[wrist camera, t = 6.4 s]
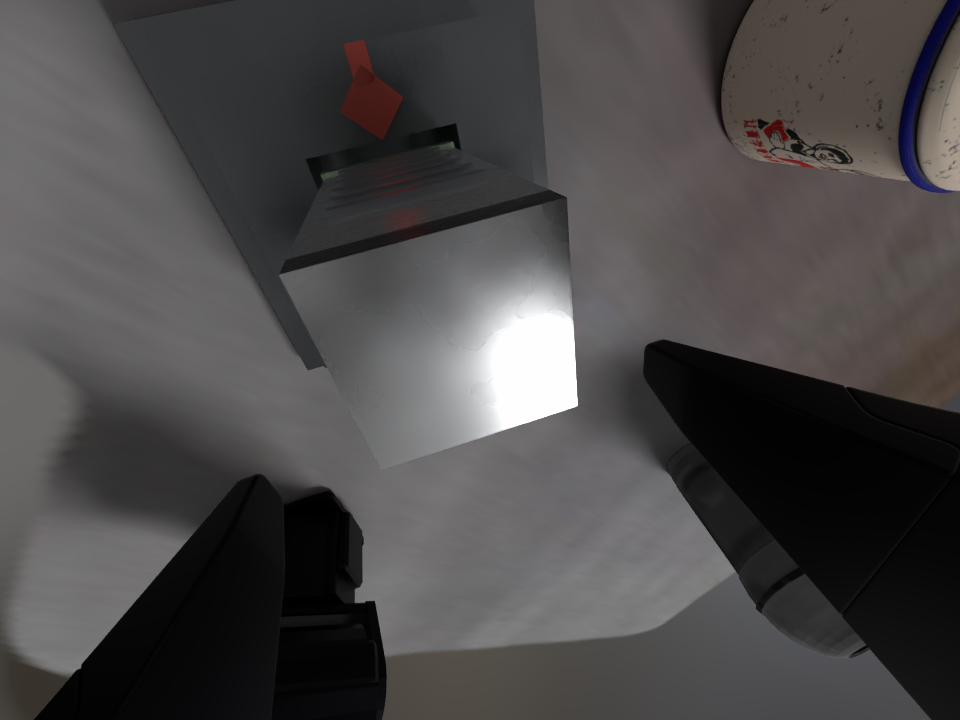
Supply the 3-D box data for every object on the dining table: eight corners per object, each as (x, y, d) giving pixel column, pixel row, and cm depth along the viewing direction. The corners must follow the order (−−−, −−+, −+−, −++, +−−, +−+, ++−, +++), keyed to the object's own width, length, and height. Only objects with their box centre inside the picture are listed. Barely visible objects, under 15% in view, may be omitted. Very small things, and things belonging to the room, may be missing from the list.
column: (368, 291, 15) (377, 475, 7) (321, 169, 12) (264, 265, 5) (474, 261, 15) (581, 407, 8) (449, 138, 13) (573, 183, 5)
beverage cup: (653, 448, 33) (929, 769, 17) (729, 418, 34) (1066, 703, 18) (652, 496, 38) (872, 789, 22) (719, 468, 38) (985, 736, 22)
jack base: (309, 362, 21) (298, 418, 17) (124, 27, 13) (26, -5, 9) (550, 290, 22) (589, 328, 19) (521, -50, 14) (580, -106, 10)
